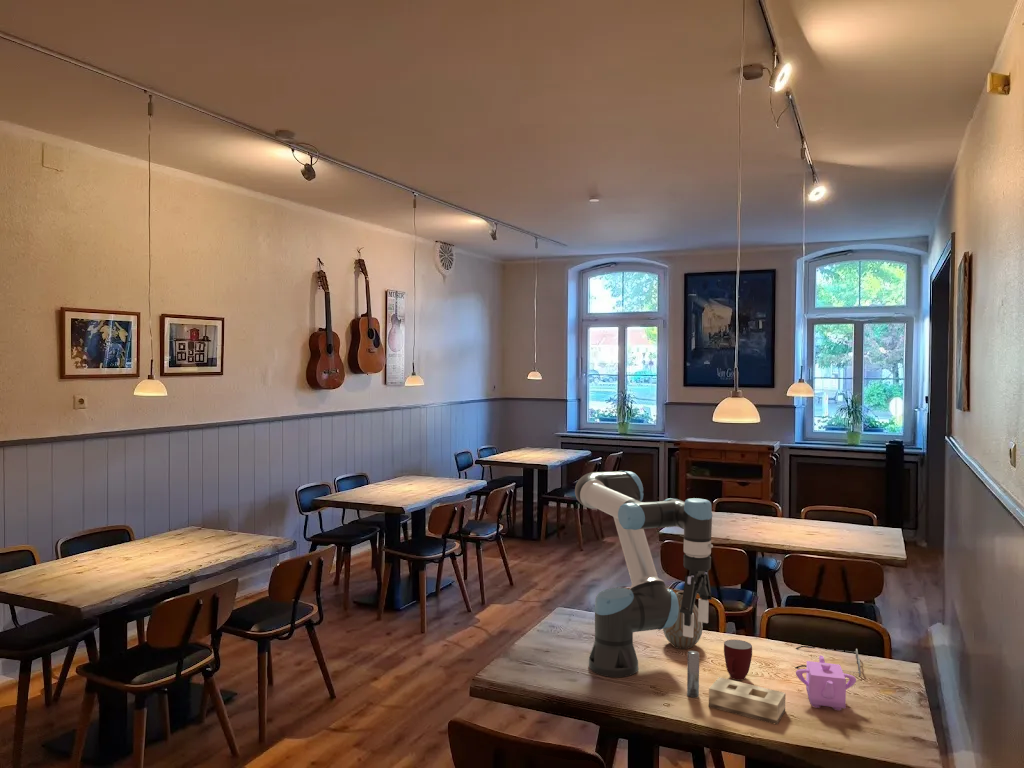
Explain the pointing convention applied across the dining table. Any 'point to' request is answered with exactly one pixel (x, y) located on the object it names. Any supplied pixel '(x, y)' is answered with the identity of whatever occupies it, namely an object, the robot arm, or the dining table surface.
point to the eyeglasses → (838, 650)
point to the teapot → (826, 684)
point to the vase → (676, 631)
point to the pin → (693, 674)
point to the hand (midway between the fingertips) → (695, 629)
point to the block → (747, 700)
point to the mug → (737, 658)
